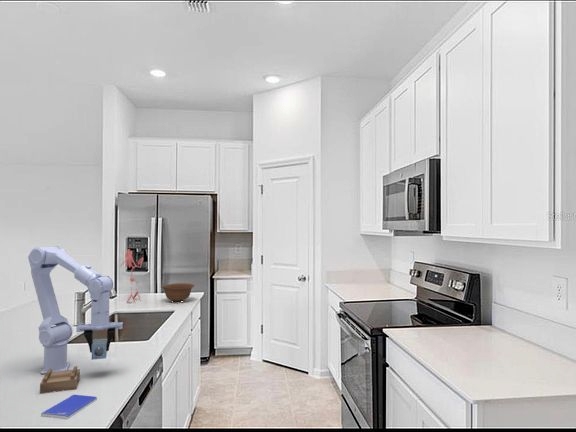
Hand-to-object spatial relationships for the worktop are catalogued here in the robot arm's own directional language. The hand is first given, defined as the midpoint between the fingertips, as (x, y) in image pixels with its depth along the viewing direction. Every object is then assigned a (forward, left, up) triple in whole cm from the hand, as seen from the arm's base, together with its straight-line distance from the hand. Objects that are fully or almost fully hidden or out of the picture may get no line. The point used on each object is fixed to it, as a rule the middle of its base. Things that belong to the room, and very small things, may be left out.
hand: (99, 351), depth 144 cm
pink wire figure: (-138, +9, -8) cm, 139 cm away
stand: (+6, -11, -8) cm, 15 cm away
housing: (0, 0, -2) cm, 2 cm away
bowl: (-127, +40, -8) cm, 133 cm away
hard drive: (+25, -6, -9) cm, 27 cm away
